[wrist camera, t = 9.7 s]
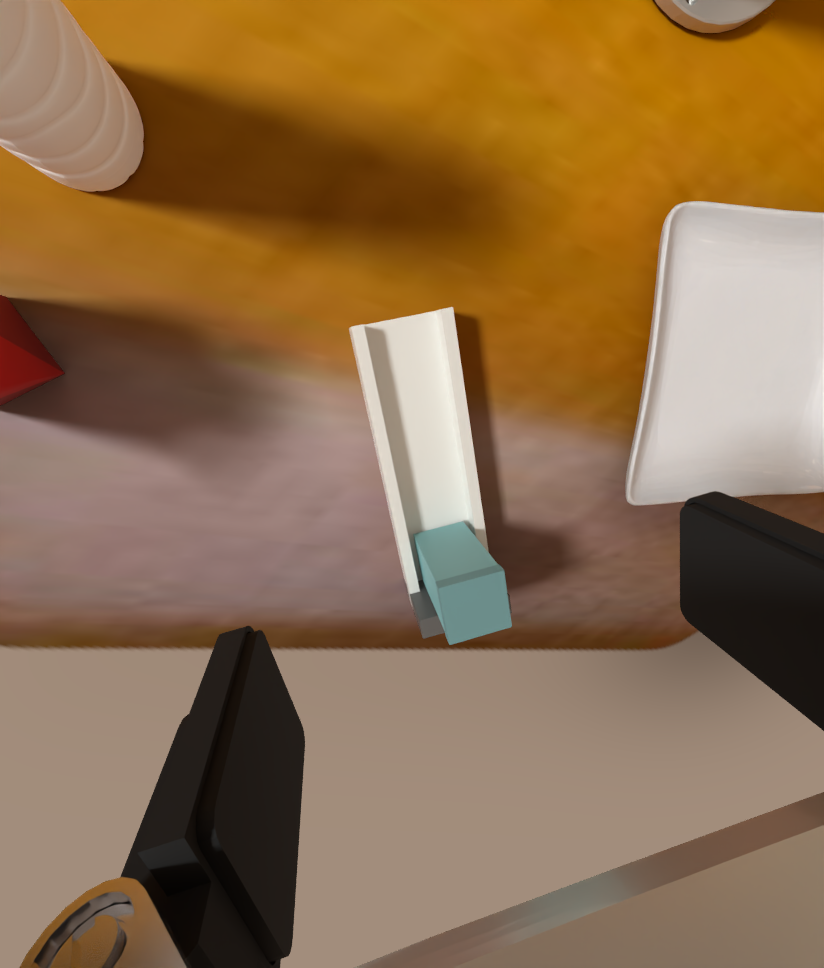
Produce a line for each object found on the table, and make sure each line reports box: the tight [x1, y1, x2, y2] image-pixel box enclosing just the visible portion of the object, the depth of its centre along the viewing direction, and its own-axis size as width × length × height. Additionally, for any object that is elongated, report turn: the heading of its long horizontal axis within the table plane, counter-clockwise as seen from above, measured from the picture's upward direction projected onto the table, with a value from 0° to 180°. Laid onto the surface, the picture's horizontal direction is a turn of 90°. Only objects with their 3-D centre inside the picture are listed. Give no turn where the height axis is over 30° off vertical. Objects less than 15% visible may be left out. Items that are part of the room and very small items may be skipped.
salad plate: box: [625, 201, 824, 506], centre depth 35 cm, size 21×21×3 cm
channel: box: [349, 307, 512, 639], centre depth 31 cm, size 7×21×6 cm, turn 11°
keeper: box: [413, 521, 512, 645], centre depth 31 cm, size 4×4×8 cm
